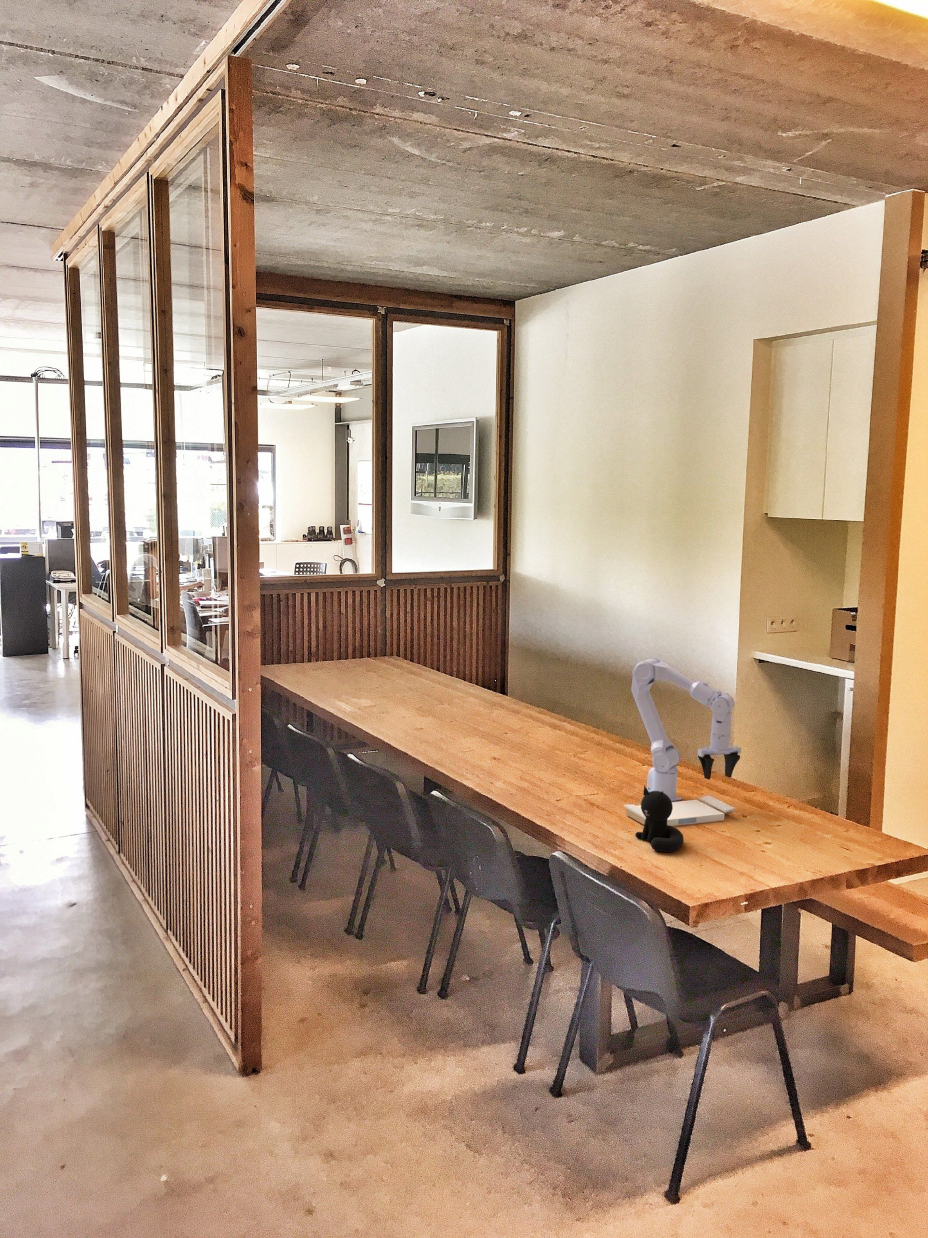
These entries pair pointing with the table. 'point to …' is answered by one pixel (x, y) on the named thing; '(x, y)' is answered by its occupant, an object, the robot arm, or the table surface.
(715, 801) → the far flap
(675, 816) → the carton
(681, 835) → the figurine
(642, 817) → the near flap
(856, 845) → the table surface
